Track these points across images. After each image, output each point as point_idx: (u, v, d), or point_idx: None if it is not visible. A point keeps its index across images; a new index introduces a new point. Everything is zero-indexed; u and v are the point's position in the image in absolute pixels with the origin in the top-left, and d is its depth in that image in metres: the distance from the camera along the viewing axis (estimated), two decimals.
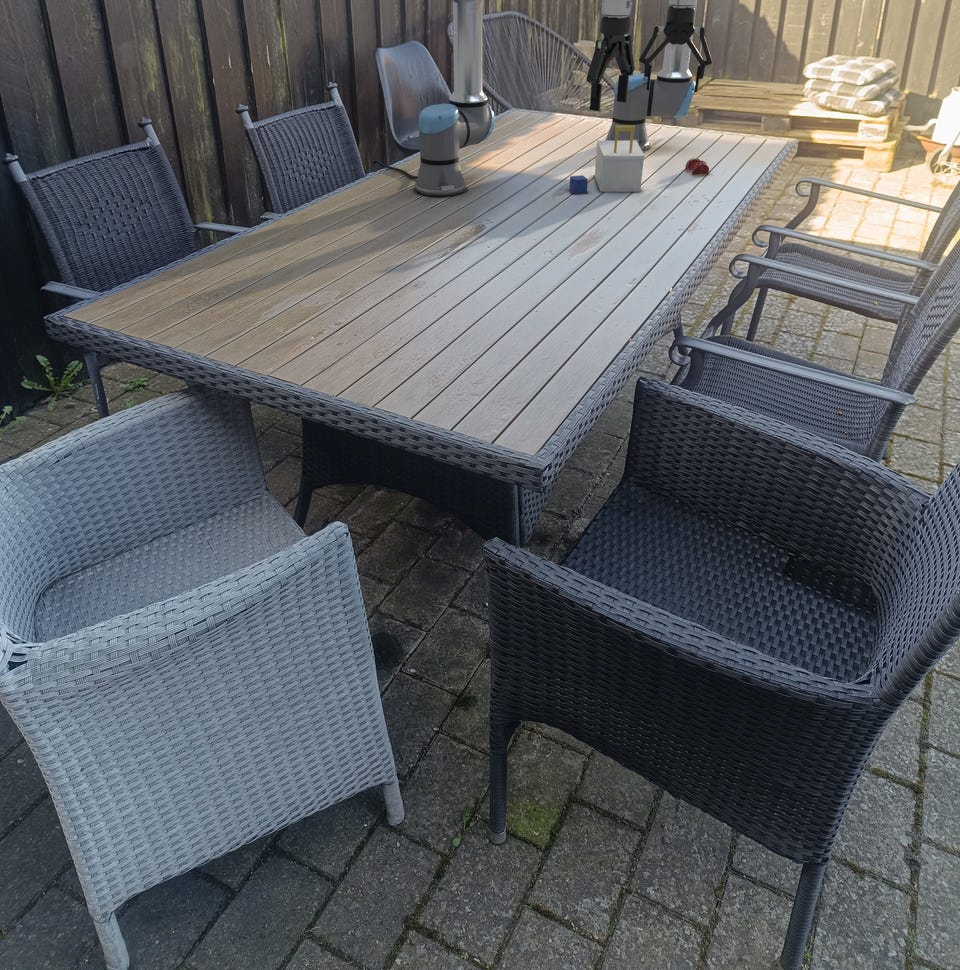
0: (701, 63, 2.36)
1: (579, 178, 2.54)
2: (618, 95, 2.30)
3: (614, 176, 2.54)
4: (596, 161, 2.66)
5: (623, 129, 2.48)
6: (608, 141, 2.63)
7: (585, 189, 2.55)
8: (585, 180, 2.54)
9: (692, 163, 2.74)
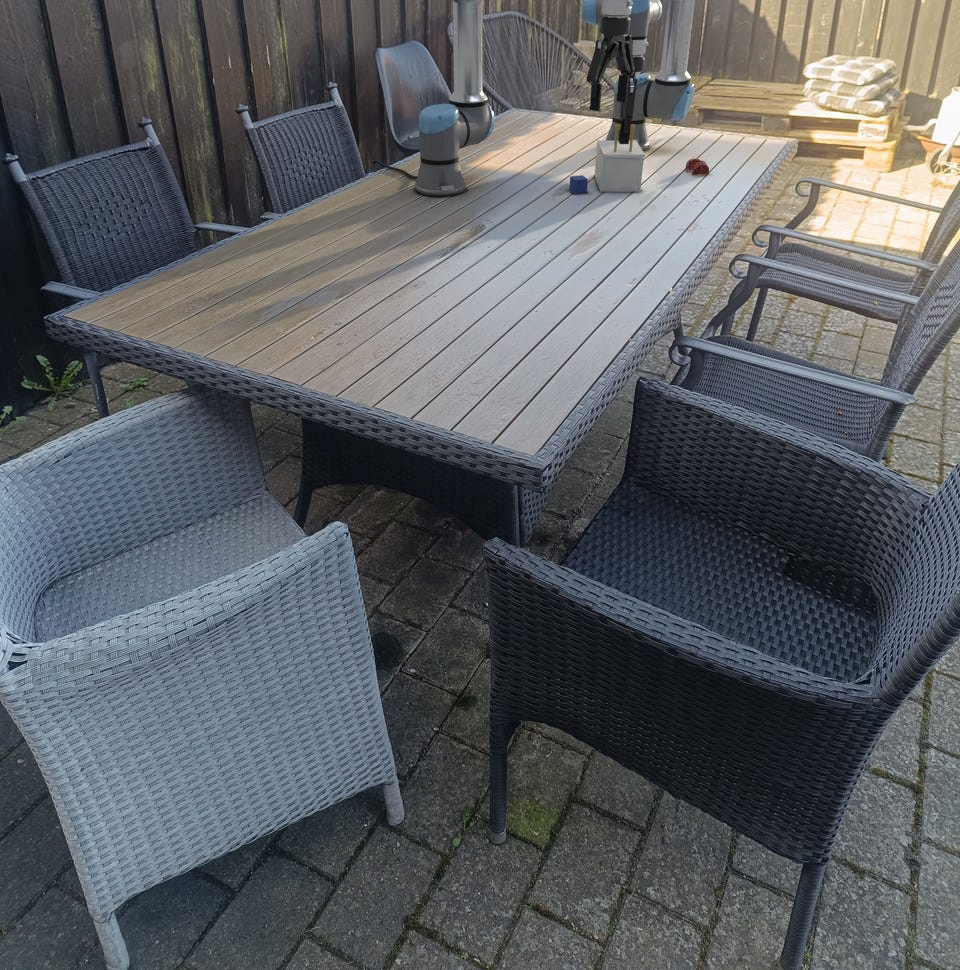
0: None
1: (579, 178, 2.54)
2: (618, 95, 2.30)
3: (614, 176, 2.54)
4: (596, 161, 2.66)
5: None
6: (608, 141, 2.63)
7: (585, 189, 2.55)
8: (585, 180, 2.54)
9: (692, 163, 2.74)
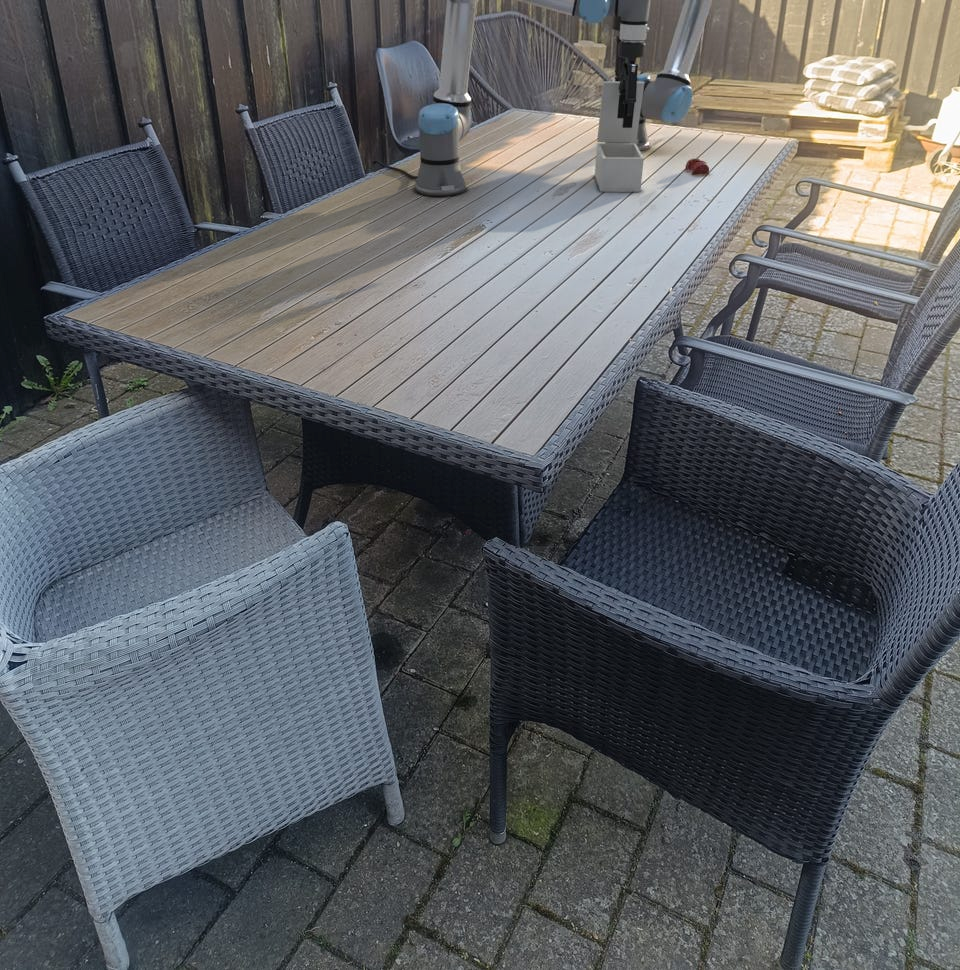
0: None
1: None
2: (619, 113, 2.53)
3: (614, 176, 2.54)
4: (596, 161, 2.66)
5: None
6: None
7: None
8: None
9: (692, 163, 2.74)
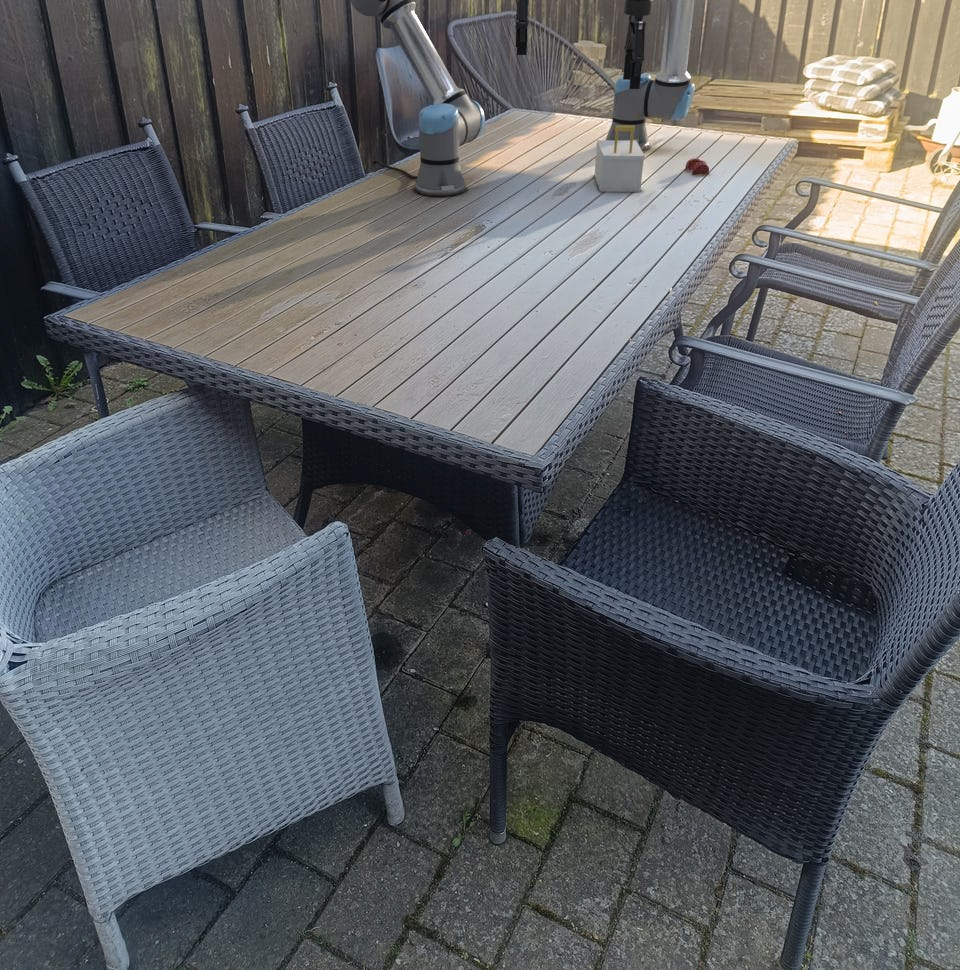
0: None
1: None
2: (517, 41, 2.43)
3: (614, 176, 2.54)
4: (596, 161, 2.66)
5: (623, 129, 2.48)
6: (608, 141, 2.63)
7: None
8: None
9: (692, 163, 2.74)
